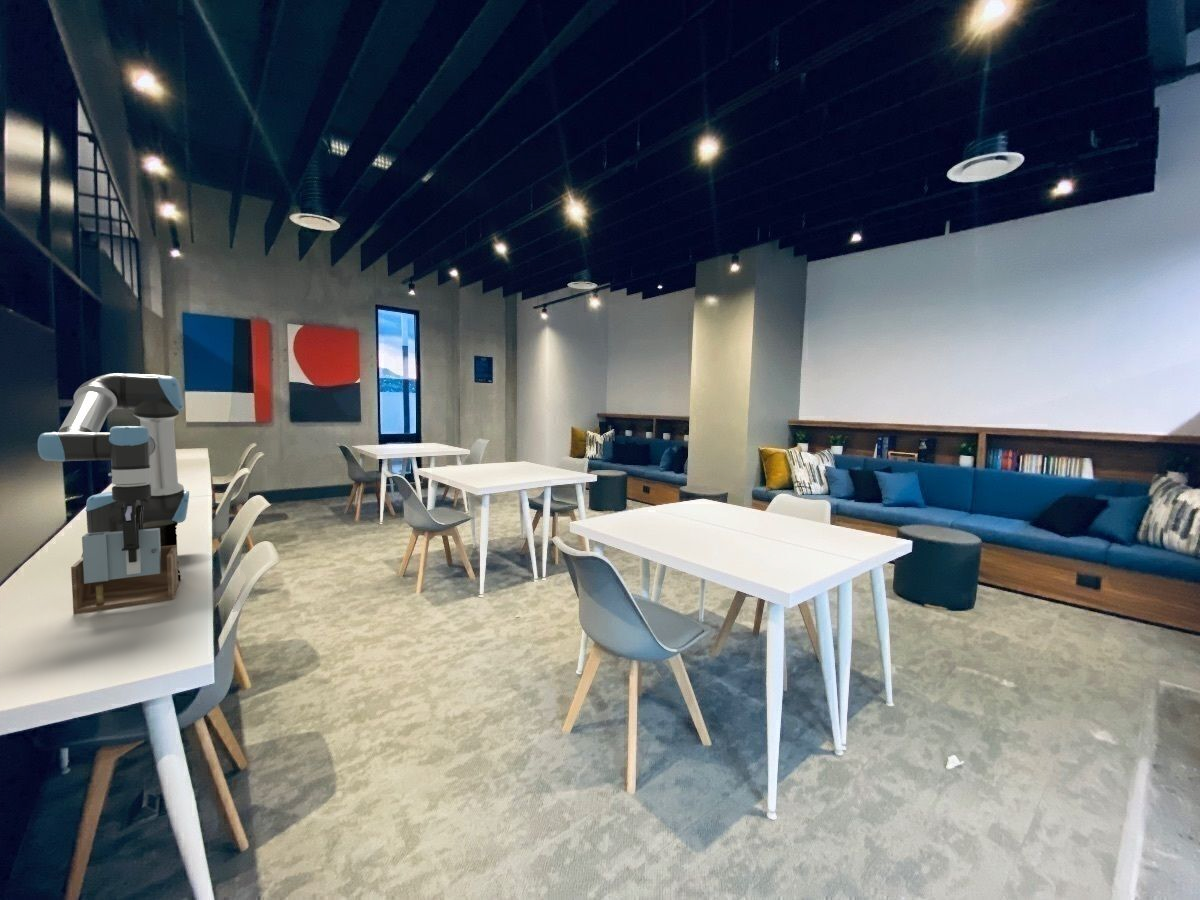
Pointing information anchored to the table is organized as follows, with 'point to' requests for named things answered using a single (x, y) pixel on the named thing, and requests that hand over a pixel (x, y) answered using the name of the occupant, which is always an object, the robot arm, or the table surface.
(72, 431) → the robot arm
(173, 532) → the container
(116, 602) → the cabinet
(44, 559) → the table surface
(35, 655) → the table surface
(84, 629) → the table surface
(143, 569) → the door
